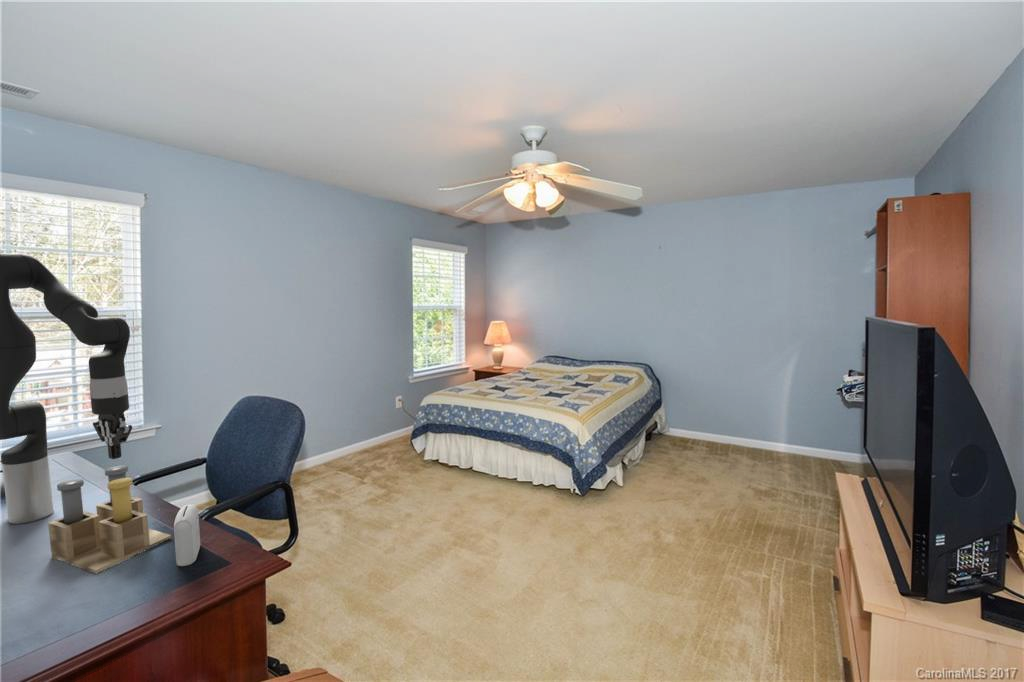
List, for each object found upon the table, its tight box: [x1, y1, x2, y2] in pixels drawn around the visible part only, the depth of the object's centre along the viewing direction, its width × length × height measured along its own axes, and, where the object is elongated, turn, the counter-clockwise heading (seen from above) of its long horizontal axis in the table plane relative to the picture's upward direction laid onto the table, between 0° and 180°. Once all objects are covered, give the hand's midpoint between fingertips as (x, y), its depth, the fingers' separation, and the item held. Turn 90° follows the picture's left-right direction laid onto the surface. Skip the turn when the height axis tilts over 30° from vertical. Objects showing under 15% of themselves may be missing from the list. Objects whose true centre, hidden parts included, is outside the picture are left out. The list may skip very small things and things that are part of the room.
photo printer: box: [173, 503, 201, 567], centre depth 118 cm, size 10×4×12 cm, turn 26°
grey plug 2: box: [104, 464, 129, 507], centre depth 127 cm, size 5×5×10 cm
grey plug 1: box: [56, 478, 85, 525], centre depth 118 cm, size 5×5×10 cm
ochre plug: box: [106, 477, 134, 524], centre depth 119 cm, size 5×5×10 cm
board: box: [47, 496, 172, 575], centre depth 122 cm, size 18×17×9 cm
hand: (115, 457), depth 126 cm, fingers closed
